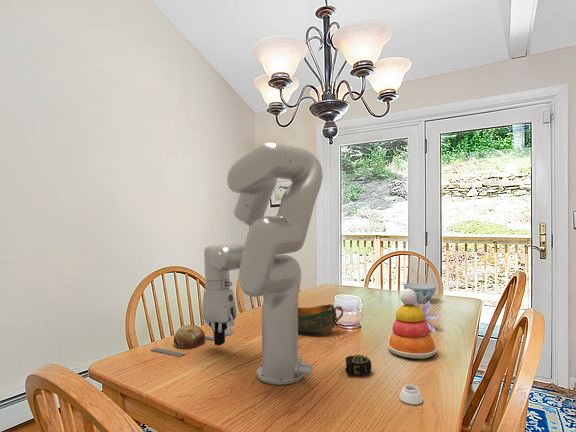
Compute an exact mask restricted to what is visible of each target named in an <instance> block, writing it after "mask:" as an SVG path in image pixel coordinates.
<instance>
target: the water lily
mask: <svg viewBox="0 0 576 432" xmlns="http://www.w3.org/2000/svg"><path fill="white" fill-rule="evenodd" d="M419 304H420V303H418V302H416V303H415V304H414V305H416V306H418V307H419V308H420V309H421V310H422V311H423V313H424V315H425V321H426V322H427V324H428V326H429V330H430V333H435V334H436V328H435V326H434V325H433V324H432V323H431V322H430V321H431V320H432V321H433V320H436V319H437V320H438V319H439V318H440V317H441V315H439V314H437V313H434V314H433V313H429V312H430V310H431V308H432V304H431V302H430V301H428V300H427V302H425V304H424V305H423V306H422V308H421V307H420V305H419Z"/></svg>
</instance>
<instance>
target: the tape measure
mask: <svg viewBox="0 0 576 432" xmlns="http://www.w3.org/2000/svg"><path fill="white" fill-rule="evenodd" d="M345 365H346V367H345V368H344V369H345V370H344V371H345V373H346V374H348V375H350V376H351V375H356V376H365V375H368V374H369V373H371V370H372V361H371V359H370V358H369V357H368V356H365V355H360V354H356V355H350V356H349V355H348V356H346V357H345Z"/></svg>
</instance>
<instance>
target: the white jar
mask: <svg viewBox="0 0 576 432" xmlns="http://www.w3.org/2000/svg"><path fill="white" fill-rule="evenodd" d="M398 397H399V400H401V402H403V403H405V404H408V405H414V406H415V405H421V404H422V403H423V402H424V399H423V398H424V397H423V396H422V394H421V392H420V390H419V388H418V386H416V385H414V384H405V385H404V386H403V387H402V390H401V391H400V393H399V396H398Z"/></svg>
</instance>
